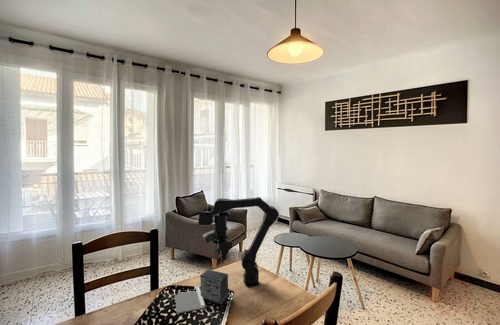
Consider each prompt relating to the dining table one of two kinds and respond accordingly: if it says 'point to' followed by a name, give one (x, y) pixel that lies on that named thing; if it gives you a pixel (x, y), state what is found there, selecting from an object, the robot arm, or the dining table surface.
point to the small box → (214, 286)
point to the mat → (189, 301)
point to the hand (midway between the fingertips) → (221, 257)
